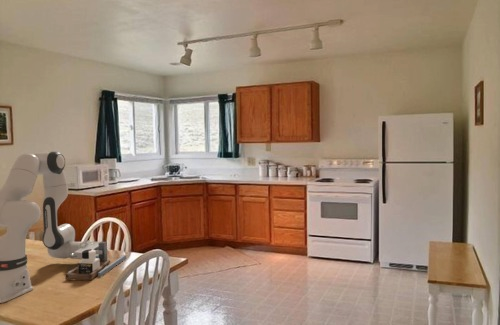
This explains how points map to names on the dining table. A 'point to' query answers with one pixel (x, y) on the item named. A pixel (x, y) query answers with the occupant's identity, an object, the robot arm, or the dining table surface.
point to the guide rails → (109, 265)
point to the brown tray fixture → (103, 262)
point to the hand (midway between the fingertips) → (104, 250)
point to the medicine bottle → (88, 262)
